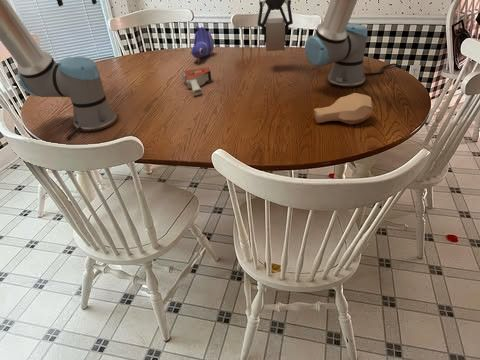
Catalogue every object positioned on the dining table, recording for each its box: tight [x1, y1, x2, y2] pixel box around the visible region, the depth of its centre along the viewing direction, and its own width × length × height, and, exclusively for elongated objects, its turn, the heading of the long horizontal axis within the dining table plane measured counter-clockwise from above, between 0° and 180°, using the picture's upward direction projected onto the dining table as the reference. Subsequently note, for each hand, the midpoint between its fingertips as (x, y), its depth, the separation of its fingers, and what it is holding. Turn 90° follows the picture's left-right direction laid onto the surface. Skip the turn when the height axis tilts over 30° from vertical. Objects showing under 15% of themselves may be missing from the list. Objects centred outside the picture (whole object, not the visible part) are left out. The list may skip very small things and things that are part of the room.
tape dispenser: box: [180, 66, 212, 96], centre depth 156 cm, size 18×5×20 cm
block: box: [265, 17, 286, 52], centre depth 161 cm, size 8×9×12 cm
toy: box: [190, 26, 215, 63], centre depth 186 cm, size 10×17×25 cm
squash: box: [313, 92, 374, 125], centre depth 122 cm, size 11×20×9 cm, turn 92°
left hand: (78, 4), depth 140 cm, fingers open, 13 cm apart
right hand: (274, 41), depth 163 cm, fingers closed on block, 8 cm apart
